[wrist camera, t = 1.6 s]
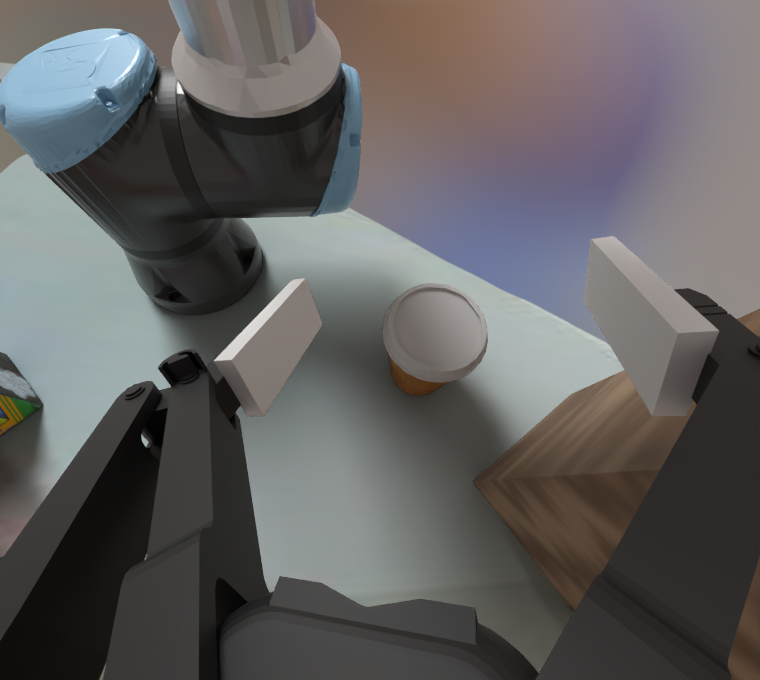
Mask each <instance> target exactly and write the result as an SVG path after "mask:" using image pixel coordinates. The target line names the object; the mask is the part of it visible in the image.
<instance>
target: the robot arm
mask: <svg viewBox="0 0 760 680" xmlns="http://www.w3.org/2000/svg"><path fill="white" fill-rule="evenodd" d="M168 1H169V4H170V6H171V8H172V11H173V13H174V15H175V18H176V20H177V22H178V25H179V27H180V29H181V31H180V33H179V35H178V37H177V40H176V42H175V45H174V47H173V52H172V66H173V67H159V66H158V65H157V60H156V57H155V55H154V54H153V52H152V51H151V50H150V49H148V47H147V46H146V44H145V43H144V42H143V41H142V40H141V39H140V38H139V37H137V36H135V35H134V34H129V33H127V32H125V31H123V30H119V29H94V30H87V31H82V32H78V33H74V34H71V35H68V36H65V37H62V38H59V39H57V40H54V41H52V42H50V43H48V44H46V45H44V46H42V47H40V48H38V49H37V50H35V51H33V52H32V53H30V54H29V55H27V56H26V57H24V58H23V59H22V60H21V61H19V62H18V63H17V64H16V65H15V66H14V67H13V68H12V69H11V70H10V71H9V72H8V73H7V75H6V76H5V77H4V79H3V80H2V82H1V84H0V121H1V123H2V125H3V126H4V128H5V129H6V130H7V132H8V133H9V134H10V135H11V136H12V137H13V138H14V139H15V141H16V142H17V143H18V144H19V145H20V146H21V147H22V148H23V149H24V151H25V152H26V153H27V154H28V155H29V156H30V157H31V158H32V159H33V163H34V164H35V166H36V167H37V168H39V169H40V171H43V172H44V173H45V174H46V175H47V176H48V177H49V178H50V179H51V180H52V181H53V182H54V183H55V184H56V185H57V186H58V187H59V188H60V189H61V190H62V191H63V192H64V193H66V194H67V195H68V196H69V197H70V198H71V199H72V200H73V201H74V202H75V203H76V204H77V205H78V206H79V207H80V208H81V209H82V210H83V211H84V212H85V213H86V214H87V215H88V216H90V217H91V218H92V219H93V220H94V221H95V222H96V223H97V224H98V225H99V226H100V227H101V228H102V229H103V230H104V231H105V232H106V233H107V234H108V235H109V236H110V237H111V238H113V239H114V240H115V241H116V242H117V243H118V244H119V245H120V246H121V247H122V248H123V249H124V252H125V254H126V256H127V259H128V261H129V263H130V266H131V268H132V270H133V273H134V275H135V278H136V280H137V282H138V284H139V285H140V287H141V288H142V289H143V291H144V292H145V293H146V294H147V295H148V296H149V297H151V298H152V299H153V300H154V301H155V302H156V303H157V304H159V305H160V306H162V307H163V308H165V309H167V310H170V311H172V312H176V313H180V314H188V315H198V314H206V313H211V312H215V311H218V310H221V309H223V308H225V307H228V306H230V305H231V304H233V303H235V302H236V301H238V300H239V299H240V298H242V297H243V296H244V295H245V294H246V293H247V292H248V291H249V290H250V289H251V288H252V287H253V285H254V284H255V282H256V281H257V279H258V277H259V274H260V272H261V268H262V251H261V248H260V246H259V243H258V241H257V239H256V236H255V235H254V233H253V231H252V230H251V228H250V227H249V226H248V225H247V224H246V223H245V222H244V221H243V220H242V219H241V218H258V217H299V216H310V217H315V216H317V215H319V214H328V213H337V212H342V211H344V210H346V209H347V208H348V207H349V206H350V205H351V203H352V201H353V199H354V196H355V193H356V188H357V183H358V176H359V166H360V154H361V147H360V139H361V128H362V98H361V86H360V79H359V75H358V73H357V71H356V70H355V69H354V68H353V67H350V66H347V65H346V64H344V63H341V52H340V47H339V44H338V41H337V39H336V37H335V35H334V34H333V32H332V31H331V30H330V29H329V28H328V26H327V25H326V24H324V23H323V22H322V21H321V20H320V19H319V18H318V17H317V16H316V14H315V4H314V0H168ZM584 303H585V305H586V306H587V308H588V309H589V311H590V313H591V315H592V316H593V318H594V320H595V321H596V323H597V325H598V326H599V328H600V330H601V331H602V333H603V335H604V336H605V338H606V339H607V341H608V343H609V345H610V346H611V348H612V350H613V351H614V353H615V355H616V356H617V358H618V360H619V361H620V363H621V365H622V366H623V368H624V370H625V371H626V373H627V375H628V376H629V378H630V380H631V381H632V383H633V385H634V386H635V388H636V390H637V391H638V393H639V395H640V396H641V398H642V400H643V401H644V403H645V405H646V406H647V408H648V410H649V411H650V413H651V415H652V416H687V413H688V410H689V408H690V405H691V403H692V400H694V402H695V403H696V404H697V406H696V407H695V409H694V411H693V413H692V414H691V416H690V418H689V420H688V421H687V423H686V425H685V427H684V429H683V430H682V432H681V434H680V436H679V437H678V439H677V441H676V443H675V444H674V446H673V448H672V450H671V452H670V453H669V455H668V457H667V459H666V460H665V462H664V464H663V466H662V467H661V469H660V471H659V473H658V474H657V476H656V478H655V480H654V482H653V483H652V485H651V487H650V489H649V490H648V492H647V494H646V496H645V497H644V499H643V501H642V503H641V505H640V506H639V508H638V510H637V512H636V513H635V515H634V517H633V519H632V520H631V522H630V524H629V526H628V527H627V529H626V531H625V533H624V535H623V536H622V538H621V540H620V542H619V543H618V545H617V547H616V549H615V550H614V552H613V554H612V556H611V558H610V559H609V561H608V563H607V565H606V566H605V568H604V570H603V571H602V572H601V574H599V575H597V576H596V577H595V579H594V580H593V582H592V583H591V585H590V586H589V588H588V590H587V591H586V593H585V594H584V596H583V598H582V600H581V601H580V603H579V605H578V607H577V608H576V610H575V612H574V614H573V615H572V617H571V619H570V621H569V622H568V624H567V626H566V628H565V629H564V631H563V633H562V635H561V636H560V638H559V640H558V642H557V643H556V645H555V647H554V648H553V650H552V652H551V654H550V655H549V657H548V659H547V661H546V662H545V664H544V666H543V668H542V669H541V671H540V673H538V672H537V671H536V669H535V668H534V667H533V666H532V665H531V664H530V662H529V661H528V660H527V659H526V658H525V657H524V656H523V655H522V654H521V653H520V652H519V651H518V650H517V649H516V648H514V647H513V646H512V645H511V644H510V643H509V642H507V641H506V640H505V639H504V638H502V637H501V636H499V635H498V634H496V633H495V632H493V631H492V630H490V629H488V628H486V627H484V626H482V625H480V624H478V621H477V616H476V610H475V608H473V607H467V606H461V605H454V604H448V603H442V602H436V601H430V600H424V599H417V600H411V601H405V602H398V603H392V604H385V605H379V606H373V607H365V606H362V605H360V604H358V603H356V602H354V601H353V600H351V599H349V598H347V597H346V596H344V595H342V594H340V593H338V592H337V591H335V590H333V589H331V588H329V587H328V586H326V585H324V584H322V583H318V582H312V581H306V580H300V579H294V578H288V577H281V576H280V577H279V580H278V582H277V585H276V587H275V590H274V592H270V593H269V591H268V588H267V586H266V583H265V580H264V575H263V569H262V562H261V556H260V549H259V543H258V536H257V530H256V523H255V517H254V510H253V503H252V497H251V490H250V484H249V477H248V471H247V464H246V458H245V451H244V445H243V438H242V431H241V425H240V419H239V417H238V416H237V414H236V413H235V412H236V411H237V409H238V408H239V407H240V405H241V406H242V408H243V410H244V411H245V413H246V415H247V416H265V414H266V412H267V411H268V409H269V408H270V406H271V405H272V403H273V401H274V400H275V398H276V397H277V395H278V394H279V392H280V391H281V389H282V387H283V386H284V384H285V383H286V381H287V380H288V378H289V376H290V375H291V373H292V372H293V370H294V369H295V367H296V365H297V364H298V362H299V361H300V359H301V358H302V356H303V354H304V353H305V351H306V350H307V348H308V347H309V345H310V344H311V342H312V340H313V339H314V337H315V336H316V334H317V333H318V331H319V329H320V328H321V326H322V325H323V324H322V321H321V319H320V316H319V313H318V310H317V308H316V305H315V302H314V300H313V297H312V294H311V291H310V289H309V286H308V283H307V280H306V278H302V279H295V280H292V281H291V282H290V283H289V284H288V285H287V286H286V287H285V288H284V289H283V290H282V291H281V292H280V293H279V294H278V295H277V296H276V297H275V298H274V299H273V300H272V301H271V302H270V303H269V304H268V305H267V306H266V307H265V308H264V309H263V310H262V311H261V312H260V313H259V315H258V316H257V317H256V318H255V319H254V320H253V321H252V322H251V323H250V324H249V325H248V326H247V327H246V328H245V329H244V330H243V331H242V332H241V333H240V334H239V335H237V336H236V337H235V338H234V339H233V340H232V341H231V342H230V343H229V345H227V346H226V347H225V348H224V351H221V352H220V354H219V355H218V356H217V357H216V358H215V359H214V360H213V361H212V362H211V363H210V364H209V365H208V366H207V367H206V366H205V364H204V363H203V361H202V359H201V358H200V356H199V355H198V353H197V352H196V350H193V349H189V350H184V351H181V352H178V353H176V354H174V355H172V356H170V357H169V358H167V359H166V360H164V361H163V362H162V363H161V364H160V366H159V367H158V369H159V370H160V372H161V373H162V374H163V376H164V377H165V378H166V380H167V381H168V382H169V384H170V385H171V387H170V388H167V389H163V390H158V388H157V387H156V386H155V384H154V383H153V382H152V381H146V382H141V383H139V384H135V385H133V386H132V387H129V388H127V389H126V391H124V392H123V393H122V394H121V395H120V396H119V397H118V398H117V399H116V400H115V402H114V403H113V405H112V406H111V407H110V409H109V410H108V412H107V413H106V414H105V416H104V417H103V419H102V420H101V421H100V423H99V424H98V426H97V427H96V428H95V430H94V431H93V433H92V434H91V435H90V437H89V438H88V440H87V441H86V442H85V444H84V445H83V447H82V448H81V449H80V451H79V452H78V454H77V455H76V456H75V458H74V459H73V460H72V462H71V463H70V465H69V466H68V467H67V469H66V470H65V472H64V473H63V474H62V476H61V477H60V479H59V480H58V481H57V483H56V484H55V486H54V487H53V488H52V490H51V491H50V493H49V494H48V495H47V497H46V498H45V500H44V501H43V502H42V504H41V505H40V507H39V508H38V509H37V511H36V512H35V514H34V515H33V516H32V518H31V519H30V521H29V522H28V523H27V525H26V526H25V528H24V529H23V530H22V532H21V533H20V535H19V536H18V537H17V539H16V540H15V542H14V543H13V544H12V546H11V547H10V549H9V550H8V551H7V553H6V554H5V556H4V557H3V558H2V560H1V561H0V680H99V679H100V677H101V674H102V672H103V669H104V667H105V671H104V677H103V680H731V673H730V671H729V669H728V659H729V655H730V651H731V647H732V644H733V641H734V638H735V635H736V631H737V628H738V625H739V622H740V618H741V615H742V612H743V609H744V606H745V602H746V599H747V596H748V593H749V589H750V586H751V583H752V580H753V577H754V573H755V570H756V567H757V564H758V560H759V557H760V336H757V335H756V334H754V333H753V332H752V331H751V330H749V329H748V328H747V327H746V326H744V325H743V324H742V323H741V322H739V321H738V320H737V319H735V318H734V317H733V316H732V315H730V314H727V311H725V310H724V309H723V308H722V307H720V306H718V304H717V303H715V302H714V301H713V300H712V299H710V298H709V297H708V296H707V295H704V294H702V293H699V292H697V291H694V290H691V289H688V288H687V289H676V290H673V289H672V288H671V287H670V286H669V285H668V284H667V283H665V282H664V281H663V280H662V279H661V278H660V277H659V276H658V275H656V274H655V273H654V272H653V271H652V270H651V269H650V268H649V267H648V266H647V265H645V264H644V263H643V262H642V261H641V260H640V259H639V258H638V257H637V256H635V255H634V254H633V253H632V252H631V251H630V250H629V249H628V248H626V247H625V246H624V245H623V244H622V243H621V242H620V241H619V240H618V239H616V238H615V237H614V236H611V237H604V238H597V239H591V244H590V252H589V261H588V269H587V278H586V286H585V294H584ZM141 434H142V435H143V436H144V437H145V438H146V439H147V440H148V442H149V443H148V445H147V447H145V446H144V444H143V442H142V439H141ZM146 554H147V556H146ZM145 557H146V559H145ZM105 664H106V666H105Z"/></svg>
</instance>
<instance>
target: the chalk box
mask: <svg viewBox="0 0 760 680" xmlns="http://www.w3.org/2000/svg"><path fill="white" fill-rule="evenodd" d="M42 405H43V404H42V403H41V401H40V399H39V398H38V396H37V395H36V394H35V392H34V391H33V389H32V388H31V387H30V385H29V384H28V382H27V381H26V380H25V378H24V377H23V376H22V375H21V373H20V372H19V371H18V369H17V368H16V367H15V365H14V364H13V362H12V361H11V360H10V359H9V357H8V356H7V355H6V354H4V353H1V352H0V436H1V435H2V434H3V433H5V432H6V431H7V430H9V429H10V428H12V427H13V426H14V425H16V424H17V423H19V422H20V421H21V420H23V419H24V418H26V417H27V416H28V415H30V414H31V413H33V412H34V411H35V410H37V409H38V408H40V407H41V406H42Z"/></svg>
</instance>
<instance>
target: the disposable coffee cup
mask: <svg viewBox="0 0 760 680" xmlns="http://www.w3.org/2000/svg"><path fill="white" fill-rule="evenodd" d="M382 334H383V340H384V344H385V347H386V349H387V351H388V353H389V357H390V364H391V371H392V376H393V379H394V381H395V383H396V384H397V385H398V387H399V388H401V389H402V390H403V391H405V392H406V393H409V394H412V395H417V396H420V395H426V394H429V393H431V392H433V391H435V390H436V389H438V388H439V387H441V386H443V385H444V384H446V383H447V382H449V381H455V380H457V379H460V378H462V377H464V376H466V375H467V374H469V373H470V372H472V371H473V370H474V369H475V368H476V367H477V366H478V364H479V363H480V362H481V360H482V358H483V356H484V354H485V352H486V347H487V342H488V337H487V326H486V322H485V318H484V315H483V313H482V311H481V310H480V308H479V306H478V305H477V304H476V303H475V302H474V301H473V299H472V298H470V297H469V296H468V295H467V294H465V293H464V292H462V291H460V290H459V289H456V288H454V287H452V286H448V285H443V284H433V283H429V284H423V285H419V286H416V287H413V288H411V289H409V290H407V291H406V292H405V293H403V294H402V295H401V296H399V297H398V298H397V299H396V300H395V301H394V302H393V303H392V304H391V305H390V307H389V308H388V310H387V312H386V314H385V316H384V320H383V327H382Z"/></svg>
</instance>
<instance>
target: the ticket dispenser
mask: <svg viewBox="0 0 760 680" xmlns="http://www.w3.org/2000/svg"><path fill="white" fill-rule="evenodd" d="M737 320H738V321H739V322H741V323H742V324H743V325H744V326H746V327H747V328H748V329H749V330H751V331H752V332H753V333H754V334H756V335H757V336H760V309H758V310H756V311H754V312H752V313H750V314H747V315H745V316H743V317H741V318H738V319H737ZM696 406H697V404H696V403H695V402H694V400H692V403H691V405H690V408H689V410H688V413H687V416H652V415H651V413H650V411H649V410H648V408H647V406H646V405H645V403H644V401H643V400H642V398H641V396H640V395H639V393H638V391H637V390H636V388H635V386H634V385H633V383H632V381H631V380H630V378H629V376H628V375H627V373H626V371H625V370H624V371H622V372H619V373H617V374H615V375H613V376H610V377H608V378H606V379H604V380H602V381H599V382H597V383H595V384H593V385H591V386H588V387H586V388H584V389H582V390H580V391H577V392H575V393H573V394H571V395H570V396H569V397H568V398H567V399H565V400H564V401H563V402H562V403H561V404H560V405H559V406H558V407H556V408H555V409H554V410H553V411H552V412H551V413H550V414H549V415H547V416H546V417H545V418H544V419H543V420H542V421H541V422H539V423H538V424H537V425H536V426H535V427H534V428H533V429H532V430H530V431H529V432H528V433H527V434H526V435H525V436H524V437H523V438H521V439H520V440H519V441H518V442H517V443H516V444H515V445H513V446H512V447H511V448H510V449H509V450H508V451H507V452H506V453H504V454H503V455H502V456H501V457H500V458H499V459H498V460H496V461H495V462H494V463H493V464H492V465H491V466H490V467H489V468H487V469H486V470H485V471H484V472H483V473H482V474H481V475H480V476H478V477H477V478H476V479H475V480H474V481H473V482H474V483H475V484H476V486H477V487H478V488H479V490H480V491H481V492H482V493H483V495H484V496H485V497H486V499H487V500H488V501H489V503H490V504H491V505H492V506H493V508H494V509H495V510H496V512H497V513H498V514H499V515H500V517H501V518H502V519H503V521H504V522H505V523H506V524H507V526H508V527H509V528H510V530H511V531H512V532H513V534H514V535H515V536H516V537H517V539H518V540H519V541H520V543H521V544H522V545H523V546H524V548H525V549H526V550H527V552H528V553H529V554H530V556H531V557H532V558H533V559H534V561H535V562H536V563H537V565H538V566H539V567H540V568H541V570H542V571H543V572H544V574H545V575H546V576H547V577H548V579H549V580H550V581H551V583H552V584H553V585H554V587H555V588H556V589H557V590H558V592H559V593H560V594H561V596H562V597H563V598H564V599H565V601H566V602H567V603H568V605H569V606H570V607H571V608H572V610H573V611H574V612H575V610H576V608H577V607H578V605H579V603H580V601H581V600H582V598H583V596H584V594H585V593H586V591H587V590H588V588H589V586H590V585H591V583H592V582H593V580H594V579H595V577H596V576H597V575H599V574H601V572H602V571H603V570H604V568H605V566H606V565H607V563H608V561H609V559H610V558H611V556H612V554H613V552H614V550H615V549H616V547H617V545H618V543H619V542H620V540H621V538H622V536H623V535H624V533H625V531H626V529H627V527H628V526H629V524H630V522H631V520H632V519H633V517H634V515H635V513H636V512H637V510H638V508H639V506H640V505H641V503H642V501H643V499H644V497H645V496H646V494H647V492H648V490H649V489H650V487H651V485H652V483H653V482H654V480H655V478H656V476H657V474H658V473H659V471H660V469H661V467H662V466H663V464H664V462H665V460H666V459H667V457H668V455H669V453H670V452H671V450H672V448H673V446H674V444H675V443H676V441H677V439H678V437H679V436H680V434H681V432H682V430H683V429H684V427H685V425H686V423H687V421H688V420H689V418H690V416H691V414H692V413H693V411H694V409H695V407H696ZM728 669H729V671H730V673H731V680H760V557H759V560H758V564H757V567H756V570H755V573H754V577H753V580H752V583H751V586H750V589H749V593H748V596H747V599H746V602H745V606H744V609H743V612H742V615H741V618H740V622H739V625H738V628H737V631H736V635H735V638H734V641H733V644H732V647H731V651H730V655H729V659H728Z"/></svg>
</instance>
